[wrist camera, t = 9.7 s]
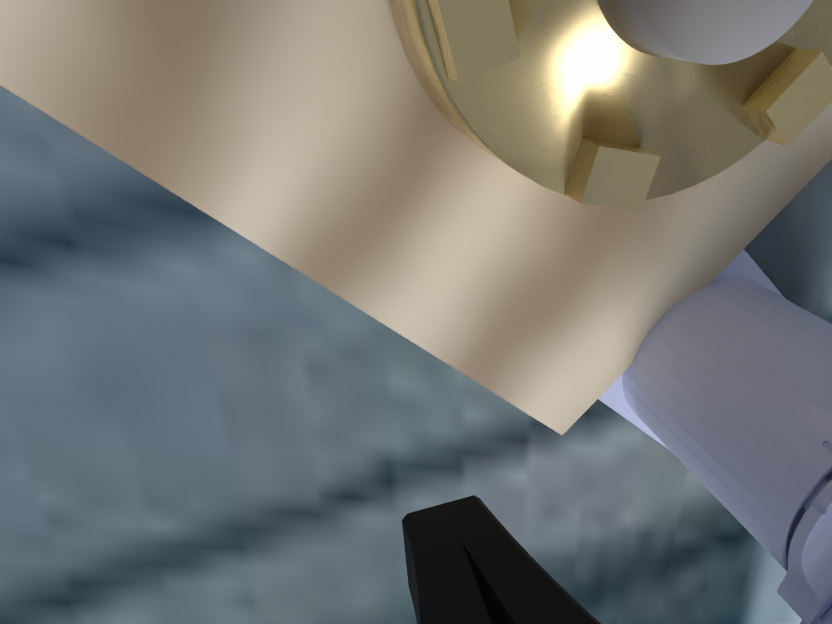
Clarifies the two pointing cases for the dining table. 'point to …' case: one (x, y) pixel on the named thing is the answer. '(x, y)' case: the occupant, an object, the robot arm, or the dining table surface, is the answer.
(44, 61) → the base plate
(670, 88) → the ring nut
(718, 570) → the dining table surface
